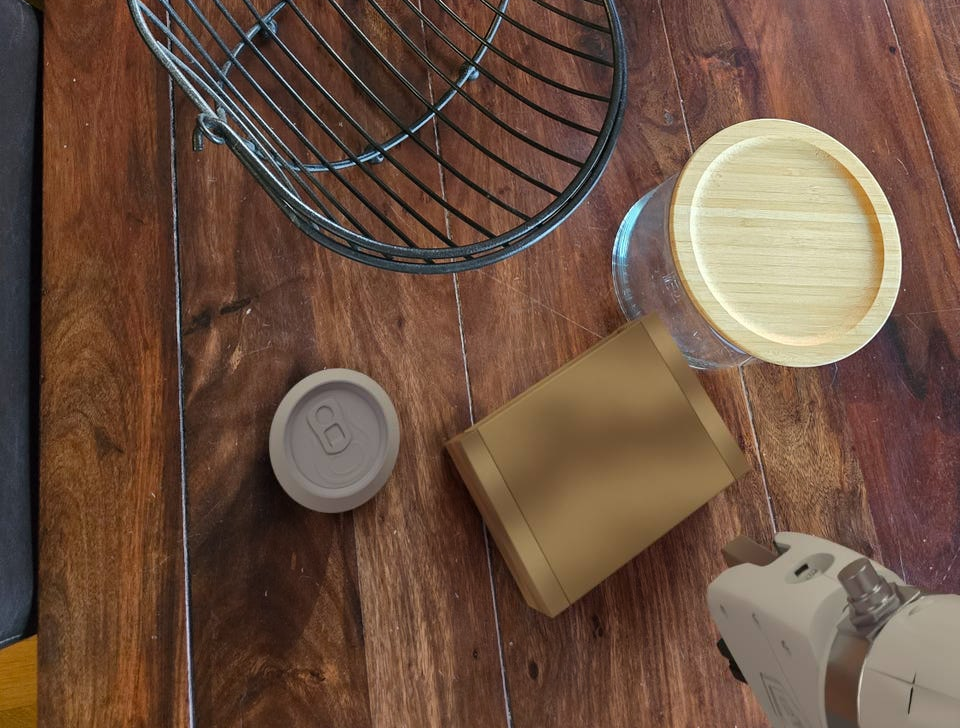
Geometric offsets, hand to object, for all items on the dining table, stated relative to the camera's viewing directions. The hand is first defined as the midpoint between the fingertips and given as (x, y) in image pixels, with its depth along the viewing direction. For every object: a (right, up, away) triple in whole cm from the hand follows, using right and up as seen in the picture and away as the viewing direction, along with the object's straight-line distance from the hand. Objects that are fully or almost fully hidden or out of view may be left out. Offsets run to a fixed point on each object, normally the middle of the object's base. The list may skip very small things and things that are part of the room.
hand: (748, 640), depth 56 cm
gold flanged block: (-7, +1, +15) cm, 17 cm away
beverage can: (-22, +3, +14) cm, 26 cm away
